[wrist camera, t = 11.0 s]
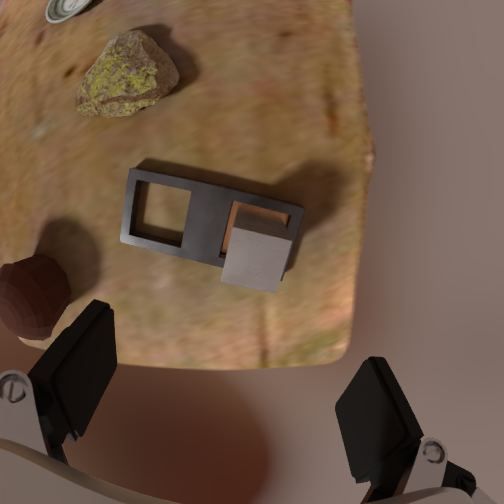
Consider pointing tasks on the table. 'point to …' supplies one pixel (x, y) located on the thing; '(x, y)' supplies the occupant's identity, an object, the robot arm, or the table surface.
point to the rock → (126, 77)
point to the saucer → (64, 9)
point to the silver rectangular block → (256, 251)
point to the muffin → (33, 296)
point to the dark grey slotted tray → (202, 216)
